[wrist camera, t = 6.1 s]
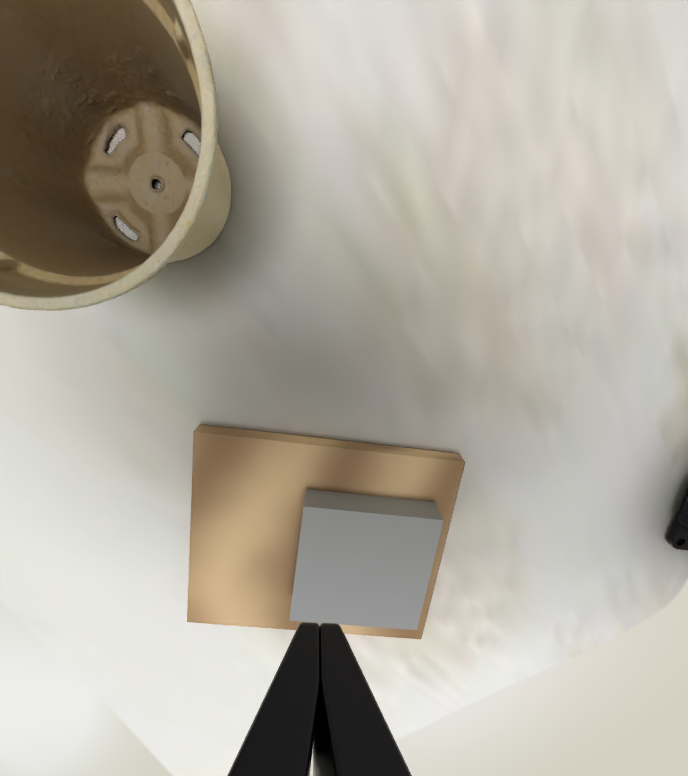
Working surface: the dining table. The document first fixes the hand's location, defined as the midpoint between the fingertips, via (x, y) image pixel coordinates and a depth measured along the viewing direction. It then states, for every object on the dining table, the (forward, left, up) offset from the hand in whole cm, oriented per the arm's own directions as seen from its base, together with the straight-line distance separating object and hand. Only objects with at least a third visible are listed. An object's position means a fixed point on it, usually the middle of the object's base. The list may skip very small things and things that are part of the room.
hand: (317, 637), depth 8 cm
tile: (+1, +7, -11) cm, 13 cm away
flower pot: (+8, -10, -13) cm, 18 cm away
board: (-1, +7, -12) cm, 14 cm away
